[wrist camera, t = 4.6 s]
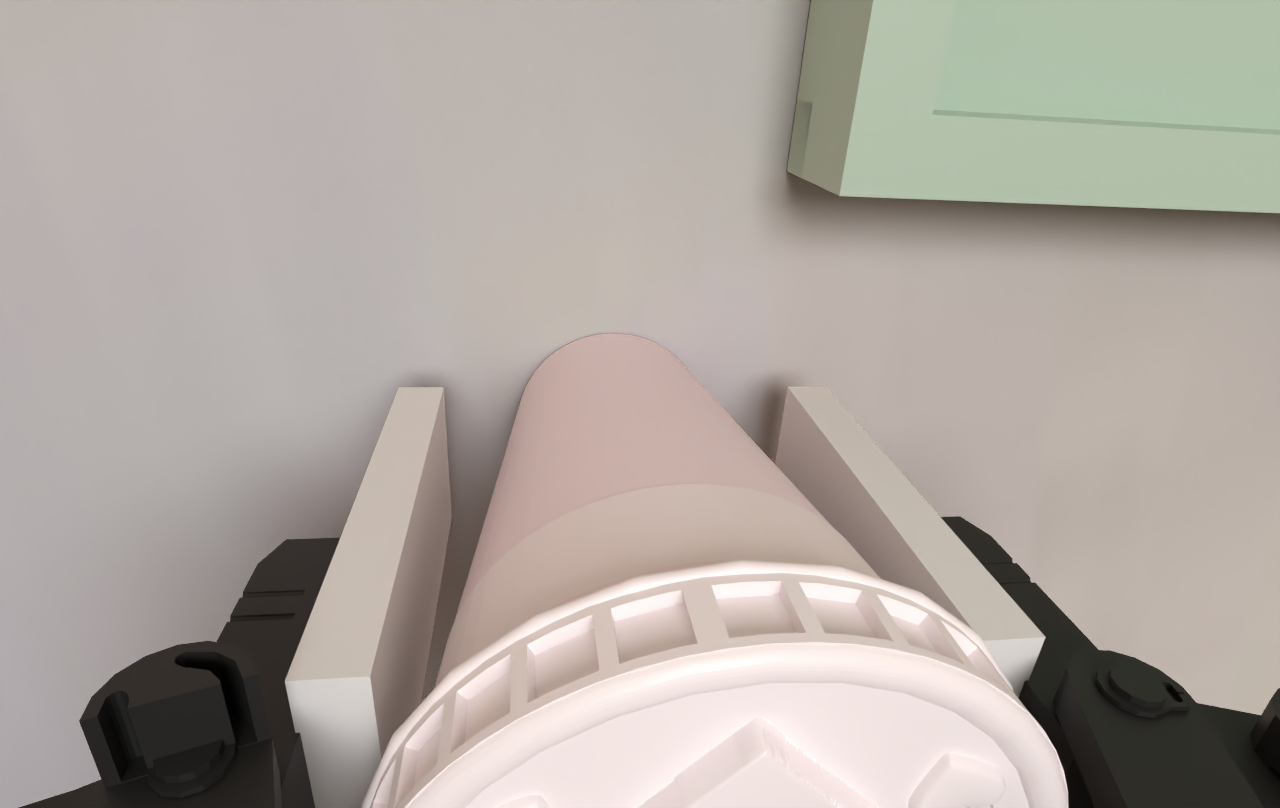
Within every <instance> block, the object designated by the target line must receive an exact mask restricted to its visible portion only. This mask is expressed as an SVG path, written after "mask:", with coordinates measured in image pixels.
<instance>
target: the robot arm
mask: <svg viewBox="0 0 1280 808" xmlns="http://www.w3.org/2000/svg"><path fill="white" fill-rule="evenodd" d="M775 465H776V466H777V467H778V468H779V469H780V470H781V471H782V472H783V474H784V475H785V476H786V477H787V478H788V479H789V480H790V481H791V482H792V483H793V484H794V485H795V487H796V488H797V489H798V490H799V491H800V492H801V493H802V494H803V495H804V496H805V497H806V498H807V499H808V501H809V502H810V503H811V504H812V505H813V506H814V507H815V508H816V509H817V510H818V511H819V512H820V514H821V515H822V516H823V517H824V518H825V519H826V520H827V521H828V522H829V523H830V524H831V525H832V526H833V528H834V529H835V530H837V531H838V532H839V533H840V534H841V535H842V536H843V537H844V538H845V539H846V540H847V541H848V542H849V543H850V544H851V546H852V547H853V548H854V549H855V550H856V551H857V552H858V554H859V555H860V556H861V557H862V558H863V559H864V560H865V561H866V563H867V564H868V565H869V566H870V567H871V568H872V569H873V570H874V572H875V573H876V574H877V575H878V576H879V577H880V578H881V579H883V580H886V581H889V582H892V583H895V584H898V585H901V586H905V587H908V588H911V589H914V590H917V591H920V592H921V593H923V594H924V595H925V596H927V597H928V598H930V599H931V600H932V601H934V602H935V603H937V604H938V605H939V606H941V607H942V608H944V609H945V610H946V611H948V612H949V613H951V614H952V615H953V616H955V617H956V618H958V619H959V620H960V621H962V622H963V623H965V624H966V625H967V626H969V627H970V628H972V629H973V630H974V631H976V632H977V633H978V634H979V635H980V637H981V638H982V640H983V641H984V643H985V644H986V646H987V648H988V649H989V651H990V652H991V654H992V655H993V657H994V658H995V660H996V662H997V663H998V665H999V666H1000V668H1001V669H1002V671H1003V673H1004V674H1005V676H1006V677H1007V679H1008V680H1009V682H1010V684H1011V685H1012V687H1013V692H1014V693H1015V695H1016V696H1017V697H1018V698H1019V700H1020V701H1021V702H1022V704H1023V705H1024V706H1025V708H1026V709H1027V710H1028V711H1029V712H1030V714H1031V715H1032V716H1033V717H1034V718H1035V719H1036V721H1037V722H1038V723H1039V724H1040V726H1041V727H1042V728H1043V730H1044V731H1045V733H1046V734H1047V736H1048V738H1049V739H1050V741H1051V743H1052V744H1053V746H1054V748H1055V749H1056V751H1057V754H1058V757H1059V759H1060V762H1061V764H1062V767H1063V770H1064V774H1065V779H1066V784H1067V789H1068V808H1280V688H1279V689H1278V690H1277V691H1276V693H1275V694H1274V695H1273V697H1272V698H1271V700H1270V702H1269V703H1268V705H1267V707H1266V708H1265V710H1264V712H1263V713H1262V715H1256V714H1251V713H1245V712H1240V711H1235V710H1230V709H1225V708H1219V707H1214V706H1209V705H1204V704H1199V703H1196V702H1195V701H1194V700H1193V699H1192V697H1191V696H1190V695H1189V694H1188V693H1187V692H1186V691H1185V689H1184V688H1183V687H1182V686H1181V685H1179V684H1178V683H1177V682H1175V681H1174V680H1173V679H1171V678H1170V677H1168V676H1167V675H1166V674H1164V673H1163V672H1162V671H1160V670H1159V669H1157V668H1155V667H1153V666H1150V665H1148V664H1146V663H1144V662H1142V661H1140V660H1138V659H1136V658H1134V657H1130V656H1127V655H1123V654H1120V653H1116V652H1113V651H1104V650H1098V649H1097V648H1096V647H1095V646H1094V645H1093V643H1092V642H1091V641H1090V640H1089V639H1088V638H1087V637H1086V636H1085V635H1084V634H1083V633H1082V632H1081V631H1080V630H1079V629H1078V628H1077V627H1076V625H1075V624H1074V623H1073V622H1072V621H1071V620H1070V619H1069V618H1068V617H1067V616H1066V615H1065V614H1064V613H1063V612H1062V611H1061V610H1060V609H1059V608H1058V606H1057V605H1056V604H1055V603H1054V602H1053V601H1052V600H1051V599H1050V598H1049V597H1048V596H1047V595H1046V594H1045V593H1044V592H1043V591H1042V590H1041V588H1040V587H1039V586H1038V585H1037V584H1036V583H1031V582H1030V577H1029V576H1028V575H1027V574H1026V573H1025V572H1024V571H1023V569H1022V568H1021V567H1020V566H1019V565H1018V564H1017V563H1013V562H1012V558H1011V557H1010V556H1009V555H1008V554H1007V553H1006V551H1005V550H1004V549H1003V548H1002V547H1001V546H1000V545H999V544H998V543H997V542H996V541H995V540H994V539H993V538H992V537H991V536H990V535H989V534H987V533H985V532H984V531H982V530H981V529H979V528H977V527H976V526H974V525H973V524H971V523H969V522H968V521H966V520H965V519H963V518H961V517H940V516H939V515H938V514H937V513H936V511H935V510H934V509H933V508H932V507H931V506H930V505H929V503H928V502H927V501H926V500H925V499H924V498H923V497H922V495H921V494H920V493H919V492H918V491H917V490H916V489H915V487H914V486H913V485H912V484H911V483H910V482H909V481H908V480H907V478H906V477H905V476H904V475H903V474H902V473H901V472H900V470H899V469H898V468H897V467H896V466H895V465H894V464H893V462H892V461H891V460H890V459H889V458H888V457H887V456H886V454H885V453H884V452H883V451H882V450H881V449H880V448H879V446H878V445H877V444H876V443H875V442H874V441H873V440H872V438H871V437H870V436H869V435H868V434H867V433H866V432H865V430H864V429H863V428H862V427H861V426H860V425H859V424H858V422H857V421H856V420H855V419H854V418H853V417H852V416H851V414H850V413H849V412H848V411H847V410H846V409H845V408H844V406H843V405H842V404H841V403H840V402H839V401H838V400H837V398H836V397H835V396H834V395H833V394H832V393H831V392H830V391H829V389H828V388H827V387H826V386H807V387H787V393H786V399H785V405H784V411H783V417H782V424H781V430H780V436H779V442H778V448H777V455H776V461H775ZM451 520H452V510H451V494H450V478H449V463H448V447H447V431H446V415H445V399H444V387H399V388H398V390H397V393H396V396H395V398H394V401H393V403H392V406H391V408H390V411H389V414H388V416H387V419H386V421H385V424H384V426H383V429H382V432H381V434H380V437H379V439H378V442H377V445H376V447H375V450H374V452H373V455H372V457H371V460H370V463H369V465H368V468H367V470H366V473H365V475H364V478H363V481H362V483H361V486H360V488H359V491H358V494H357V496H356V499H355V501H354V504H353V506H352V509H351V512H350V514H349V517H348V519H347V522H346V524H345V527H344V530H343V532H342V535H341V537H340V538H319V539H287V540H285V541H284V542H283V543H282V544H281V545H280V546H278V547H277V548H276V549H275V550H274V551H273V552H271V553H270V554H269V555H268V556H267V557H266V558H264V559H263V560H262V561H261V562H260V563H258V565H257V567H256V568H255V570H254V572H253V574H252V576H251V578H250V580H249V582H248V584H247V586H246V587H245V589H244V591H243V598H240V599H239V601H238V603H237V604H236V606H235V608H234V610H233V612H232V614H231V616H230V617H231V619H230V622H227V623H226V625H225V627H224V629H223V631H222V633H221V635H220V637H219V639H218V640H217V642H212V641H205V642H197V643H189V644H181V645H176V646H173V647H170V648H168V649H165V650H162V651H159V652H156V653H153V654H150V655H148V656H145V657H143V658H142V659H140V660H138V661H137V662H135V663H133V664H132V665H130V666H128V667H127V668H125V669H123V670H122V671H120V672H118V673H117V674H115V675H114V676H113V677H112V678H111V679H110V680H109V681H108V682H107V683H106V684H105V685H104V686H103V687H102V688H100V689H99V690H98V691H97V692H96V693H95V694H94V695H93V696H92V697H91V699H90V701H89V703H88V705H87V707H86V709H85V711H84V713H83V715H82V717H81V719H80V721H79V722H80V724H81V727H82V729H83V732H84V735H85V737H86V740H87V742H88V745H89V748H90V750H91V753H92V755H93V758H94V761H95V763H96V766H97V768H98V771H99V774H100V776H101V780H99V781H96V782H94V783H91V784H89V785H86V786H84V787H81V788H79V789H76V790H73V791H70V792H67V793H64V794H60V795H57V796H54V797H51V798H48V799H45V800H42V801H38V802H35V803H32V804H29V805H26V806H23V807H19V808H362V802H363V800H364V797H365V795H366V793H367V791H368V788H369V786H370V784H371V782H372V779H373V777H374V775H375V773H376V771H377V768H378V766H379V764H380V762H381V759H382V757H383V755H384V753H385V750H386V748H387V746H388V744H389V742H390V739H391V737H392V735H393V734H394V733H395V731H396V730H397V729H398V728H399V727H400V726H401V725H402V724H403V723H404V721H405V720H406V719H407V718H408V717H409V716H410V715H411V714H412V713H413V712H414V710H415V709H416V708H417V707H418V706H419V705H420V704H421V700H422V694H423V688H424V682H425V676H426V670H427V664H428V658H429V652H430V646H431V640H432V634H433V628H434V622H435V616H436V610H437V604H438V598H439V592H440V586H441V580H442V574H443V568H444V562H445V556H446V550H447V544H448V538H449V532H450V526H451Z"/></svg>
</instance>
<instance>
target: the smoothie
mask: <svg viewBox="0 0 1280 808" xmlns="http://www.w3.org/2000/svg"><path fill="white" fill-rule="evenodd" d="M362 808H1068V789H1067V784H1066V779H1065V774H1064V770H1063V767H1062V764H1061V762H1060V759H1059V757H1058V754H1057V751H1056V749H1055V748H1054V746H1053V744H1052V743H1051V741H1050V739H1049V738H1048V736H1047V734H1046V733H1045V731H1044V730H1043V728H1042V727H1041V726H1040V724H1039V723H1038V722H1037V721H1036V719H1035V718H1034V717H1033V716H1032V715H1031V714H1030V712H1029V711H1028V710H1027V709H1026V708H1025V706H1024V705H1023V704H1022V702H1021V701H1020V700H1019V698H1018V697H1017V696H1016V695H1015V693H1014V692H1013V687H1012V685H1011V684H1010V682H1009V680H1008V679H1007V677H1006V676H1005V674H1004V673H1003V671H1002V669H1001V668H1000V666H999V665H998V663H997V662H996V660H995V658H994V657H993V655H992V654H991V652H990V651H989V649H988V648H987V646H986V644H985V643H984V641H983V640H982V638H981V637H980V635H979V634H978V633H977V632H976V631H974V630H973V629H972V628H970V627H969V626H967V625H966V624H965V623H963V622H962V621H960V620H959V619H958V618H956V617H955V616H953V615H952V614H951V613H949V612H948V611H946V610H945V609H944V608H942V607H941V606H939V605H938V604H937V603H935V602H934V601H932V600H931V599H930V598H928V597H927V596H925V595H924V594H923V593H921V592H920V591H917V590H914V589H911V588H908V587H905V586H901V585H898V584H895V583H892V582H889V581H886V580H883V579H881V578H880V577H879V576H878V575H877V574H876V573H875V572H874V570H873V569H872V568H871V567H870V566H869V565H868V564H867V563H866V561H865V560H864V559H863V558H862V557H861V556H860V555H859V554H858V552H857V551H856V550H855V549H854V548H853V547H852V546H851V544H850V543H849V542H848V541H847V540H846V539H845V538H844V537H843V536H842V535H841V534H840V533H839V532H838V531H837V530H835V529H834V528H833V526H832V525H831V524H830V523H829V522H828V521H827V520H826V519H825V518H824V517H823V516H822V515H821V514H820V512H819V511H818V510H817V509H816V508H815V507H814V506H813V505H812V504H811V503H810V502H809V501H808V499H807V498H806V497H805V496H804V495H803V494H802V493H801V492H800V491H799V490H798V489H797V488H796V487H795V485H794V484H793V483H792V482H791V481H790V480H789V479H788V478H787V477H786V476H785V475H784V474H783V472H782V471H781V470H780V469H779V468H778V467H777V466H776V465H775V464H774V463H773V462H772V461H771V460H770V458H769V457H768V456H767V455H766V454H765V453H764V452H763V451H762V450H761V449H760V448H759V447H758V445H757V444H756V443H755V442H754V441H753V440H752V439H751V438H750V437H749V436H748V435H747V434H746V432H745V431H744V430H743V429H742V428H741V427H740V426H739V425H738V424H737V423H736V422H735V421H734V420H733V418H732V417H731V416H730V415H729V414H728V413H727V412H726V411H725V410H724V409H723V408H722V407H721V405H720V404H719V403H718V402H717V401H716V400H715V399H714V398H713V397H712V396H711V395H710V394H709V393H708V391H707V390H706V389H705V388H704V387H703V386H702V385H701V384H700V383H699V382H698V381H697V380H696V378H695V377H694V376H693V375H692V374H691V373H690V372H689V371H688V370H687V369H686V368H685V367H684V365H683V364H682V363H681V362H680V361H679V360H678V359H677V358H676V357H675V356H674V355H673V354H671V353H670V352H669V351H668V350H666V349H665V348H663V347H662V346H660V345H658V344H656V343H654V342H652V341H650V340H647V339H644V338H641V337H638V336H634V335H628V334H617V333H610V334H599V335H593V336H589V337H585V338H582V339H579V340H576V341H574V342H572V343H569V344H567V345H565V346H564V347H562V348H560V349H559V350H557V351H556V352H554V353H553V354H552V355H550V356H549V357H548V358H547V359H546V360H545V361H544V362H543V363H542V364H541V365H540V366H539V367H538V368H537V370H536V371H535V372H534V373H533V375H532V376H531V378H530V380H529V381H528V383H527V385H526V387H525V390H524V392H523V395H522V398H521V402H520V405H519V408H518V412H517V415H516V418H515V421H514V425H513V428H512V431H511V435H510V438H509V441H508V445H507V448H506V451H505V455H504V458H503V461H502V465H501V468H500V471H499V475H498V478H497V481H496V485H495V488H494V491H493V495H492V498H491V501H490V505H489V508H488V511H487V515H486V518H485V521H484V525H483V528H482V531H481V534H480V538H479V541H478V544H477V548H476V551H475V554H474V558H473V561H472V564H471V568H470V571H469V574H468V578H467V581H466V584H465V588H464V591H463V594H462V598H461V601H460V604H459V608H458V611H457V614H456V618H455V621H454V624H453V626H452V629H451V631H450V634H449V637H448V640H447V644H446V647H445V651H444V654H443V658H442V662H441V665H440V669H439V672H438V676H437V680H436V683H435V687H434V690H433V691H432V692H431V693H430V694H429V695H428V696H427V697H426V698H425V699H424V701H423V702H422V703H421V704H420V705H419V706H418V707H417V708H416V709H415V710H414V712H413V713H412V714H411V715H410V716H409V717H408V718H407V719H406V720H405V721H404V723H403V724H402V725H401V726H400V727H399V728H398V729H397V730H396V731H395V733H394V734H393V735H392V737H391V739H390V742H389V744H388V746H387V748H386V750H385V753H384V755H383V757H382V759H381V762H380V764H379V766H378V768H377V771H376V773H375V775H374V777H373V779H372V782H371V784H370V786H369V788H368V791H367V793H366V795H365V797H364V800H363V802H362Z"/></svg>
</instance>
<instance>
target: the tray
mask: <svg viewBox="0 0 1280 808" xmlns="http://www.w3.org/2000/svg"><path fill="white" fill-rule="evenodd" d="M787 172H790V173H792V174H794V175H796V176H798V177H800V178H802V179H804V180H806V181H809V182H811V183H813V184H815V185H817V186H819V187H821V188H823V189H825V190H828V191H830V192H832V193H834V194H836V195H838V196H851V197H876V198H902V199H927V200H953V201H979V202H1004V203H1030V204H1056V205H1081V206H1107V207H1132V208H1158V209H1184V210H1209V211H1235V212H1261V213H1280V0H811V4H810V11H809V18H808V25H807V32H806V39H805V46H804V54H803V61H802V68H801V75H800V82H799V89H798V96H797V103H796V110H795V117H794V124H793V131H792V138H791V146H790V153H789V160H788V167H787Z"/></svg>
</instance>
